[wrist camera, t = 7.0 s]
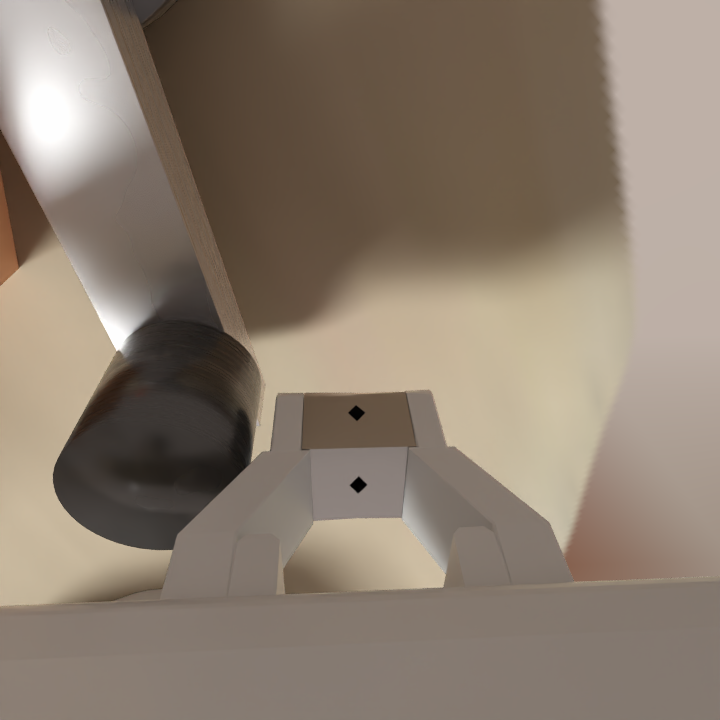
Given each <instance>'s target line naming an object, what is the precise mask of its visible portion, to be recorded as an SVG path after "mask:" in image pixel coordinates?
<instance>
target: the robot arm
mask: <svg viewBox="0 0 720 720" xmlns="http://www.w3.org/2000/svg"><path fill="white" fill-rule="evenodd" d="M350 518H402V521H403V522H404V523H405V524H406V525H407V527H408V528H409V529H410V530H411V532H412V533H413V534H414V535H415V537H416V538H417V539H418V540H419V542H420V543H421V544H422V545H423V547H424V548H425V549H426V550H427V551H428V553H429V554H430V555H431V556H432V558H433V559H434V560H435V561H436V563H437V564H438V565H439V566H440V568H441V569H442V570H443V571H444V573H445V574H446V577H445V582H444V587H443V588H423V589H399V590H375V591H351V592H327V593H303V594H285V585H284V575H283V568H284V567H285V565H286V564H287V562H288V561H289V559H290V558H291V556H292V555H293V553H294V552H295V550H296V549H297V547H298V546H299V544H300V543H301V541H302V540H303V538H304V537H305V535H306V534H307V532H308V531H309V529H310V528H311V526H312V525H313V521H318V520H334V519H350ZM0 720H720V576H714V577H688V578H664V579H640V580H617V581H616V580H615V581H591V582H574V580H573V578H572V575H571V573H570V571H569V568H568V566H567V563H566V561H565V558H564V556H563V554H562V551H561V549H560V547H559V544H558V542H557V539H556V537H555V535H554V532H553V530H552V528H551V525H550V523H549V522H548V521H547V520H546V519H544V518H543V517H542V516H541V515H539V514H538V513H537V512H536V511H534V510H533V509H532V508H531V507H529V506H528V505H527V504H526V503H524V502H523V501H522V500H521V499H519V498H518V497H517V496H516V495H514V494H513V493H512V492H511V491H509V490H508V489H507V488H506V487H504V486H503V485H502V484H501V483H499V482H498V481H497V480H496V479H494V478H493V477H492V476H491V475H489V474H488V473H487V472H486V471H484V470H483V469H482V468H481V467H479V466H478V465H477V464H476V463H474V462H473V461H472V460H471V459H470V458H468V457H467V456H466V455H465V454H463V453H462V452H461V451H460V450H458V449H457V448H456V447H447V445H446V441H445V437H444V434H443V430H442V426H441V423H440V419H439V415H438V412H437V408H436V404H435V401H434V397H433V394H432V392H431V391H430V390H415V391H405V392H376V393H305V394H303V393H278V395H277V397H276V404H275V413H274V422H273V431H272V440H271V449H270V451H265V452H262V453H261V454H260V455H259V456H258V457H256V458H255V459H254V460H253V461H252V462H251V463H250V464H249V465H248V466H247V467H246V468H245V469H244V470H243V471H242V472H241V473H240V474H239V475H238V476H237V477H236V478H235V479H234V480H233V481H232V482H231V483H230V484H229V485H228V486H227V487H226V488H225V489H224V490H223V491H222V492H221V493H220V494H218V495H217V496H216V497H215V498H214V499H213V500H212V501H211V502H210V503H209V504H208V505H207V506H206V507H205V508H204V509H203V510H202V511H201V512H200V513H199V514H198V515H197V516H196V517H195V518H194V519H193V520H192V521H191V522H190V523H189V524H188V525H187V526H186V527H185V528H184V529H183V530H182V531H180V532H179V533H178V534H177V537H176V541H175V545H174V548H173V552H172V556H171V559H170V563H169V567H168V571H167V574H166V578H165V582H164V585H163V589H162V593H161V596H160V599H159V600H135V601H111V602H87V603H63V604H39V605H15V606H0Z"/></svg>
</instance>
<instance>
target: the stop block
mask: <svg viewBox="0 0 720 720" xmlns="http://www.w3.org/2000/svg"><path fill="white" fill-rule="evenodd" d="M18 269H19V267H18V261H17V256H16V251H15V245H14V240H13V234H12V229H11V224H10V218H9V213H8V208H7V202H6V197H5V192H4V186H3V181H2V175H1V170H0V286H1V285H2V284H3V283H4V282H5V281H6V280H7V279H8V278H9V277H10V276H11V275H12V274H13V273H14V272H15V271H16V270H18Z"/></svg>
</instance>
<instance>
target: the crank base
mask: <svg viewBox="0 0 720 720" xmlns="http://www.w3.org/2000/svg"><path fill="white" fill-rule="evenodd" d="M176 1H177V0H133V3H134V6H135V9H136V12H137V15H138V18H139V21H140V24H141V26H142V28H144V27H146V26H148V25H149V24H151V23H152V22H153V21H155V20H156V19H158V18H159V17H161V16H162V15H163V14H164V13H165V12H166V11H167V10H168V9H169V8H170V7H171V6H172V5H173V4H174V3H175V2H176Z"/></svg>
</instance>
